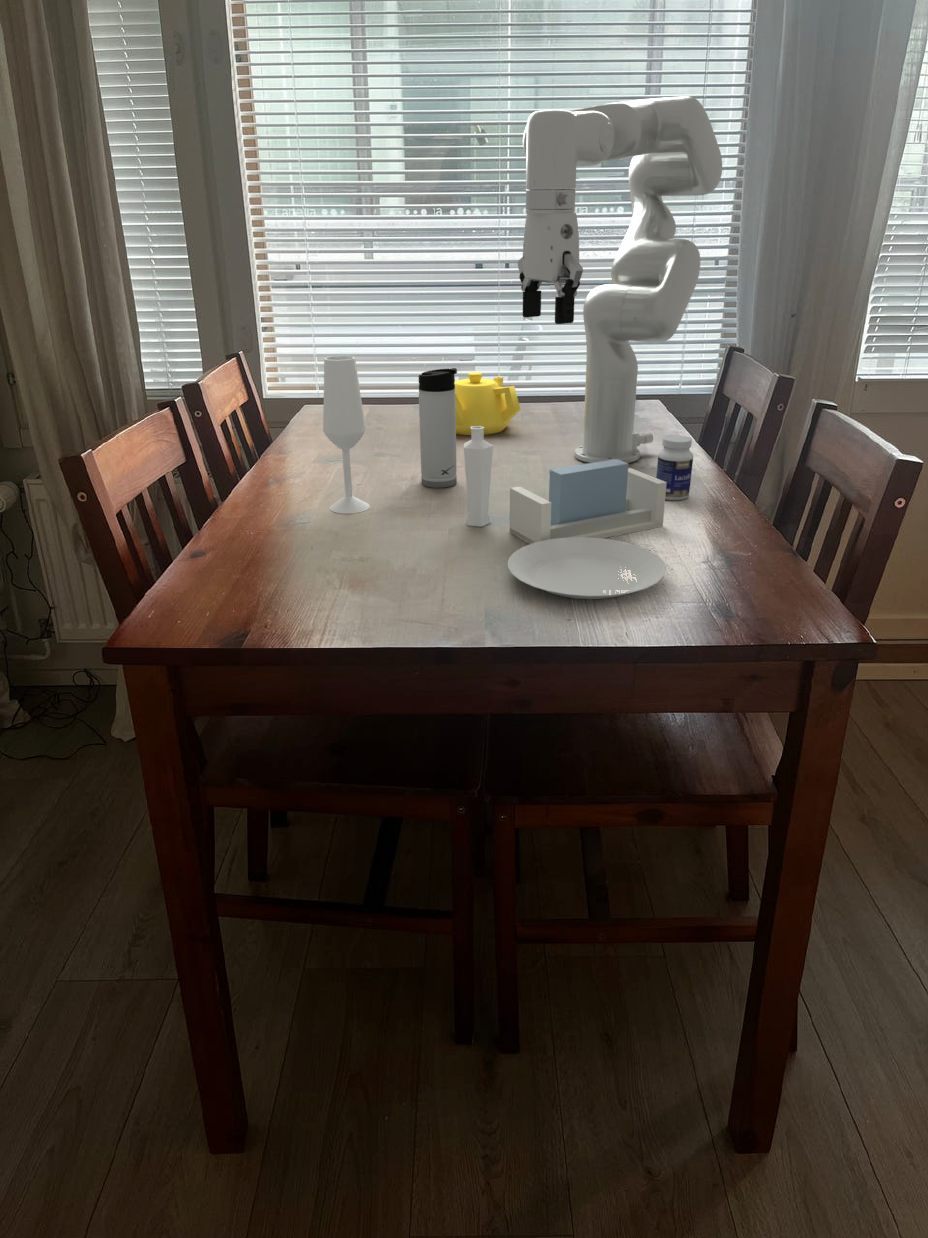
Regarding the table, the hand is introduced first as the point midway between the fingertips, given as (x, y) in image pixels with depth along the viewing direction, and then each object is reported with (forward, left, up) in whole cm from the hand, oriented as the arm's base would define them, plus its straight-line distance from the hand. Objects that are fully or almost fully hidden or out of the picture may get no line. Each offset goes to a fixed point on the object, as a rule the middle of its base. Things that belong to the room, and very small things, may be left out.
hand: (547, 319), depth 146 cm
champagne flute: (+33, -7, -28) cm, 44 cm away
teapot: (-11, -46, -29) cm, 55 cm away
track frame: (+5, +21, -28) cm, 35 cm away
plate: (+16, +37, -29) cm, 49 cm away
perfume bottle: (+18, +10, -28) cm, 35 cm away
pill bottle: (-17, +14, -28) cm, 36 cm away
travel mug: (+14, -12, -28) cm, 34 cm away
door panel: (+5, +21, -27) cm, 35 cm away
